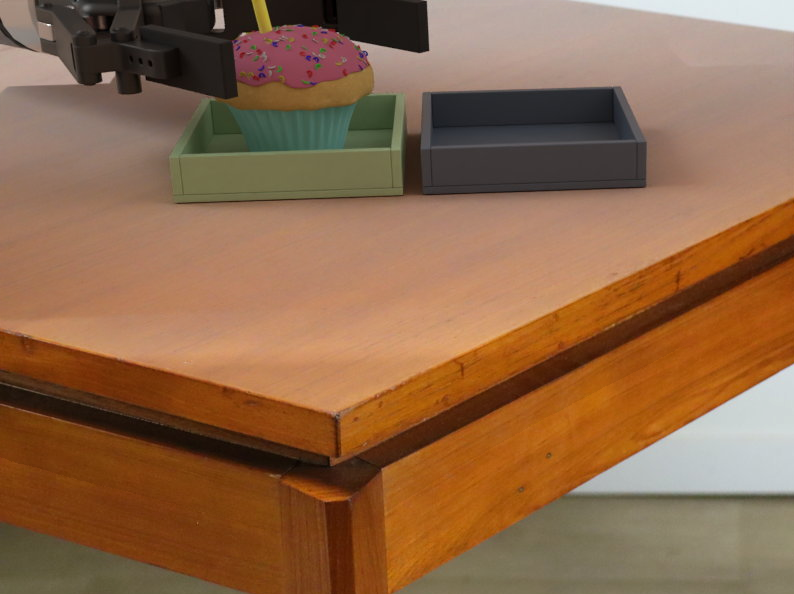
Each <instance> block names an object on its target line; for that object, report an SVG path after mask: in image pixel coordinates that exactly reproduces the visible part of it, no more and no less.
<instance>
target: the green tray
mask: <svg viewBox="0 0 794 594" xmlns="http://www.w3.org/2000/svg"><path fill="white" fill-rule="evenodd" d="M406 102H407V101H406V93H405V92H381V93H380V92H377V93H373V92H372V93H371V94H369V95H367V96H364V97H362V98H361V99H359V100H358V102H357V104H356V106H355V108H354V110H353V113H352V116H351V120H350V123H349V127H348V131H347V135H346V139H345V144H344V149H330V150H299V151H268V152H250V151H249V148H248V146H247V143H246V141H245V138H244V136H243V134H242V131H241V129H240V127H239V125H238V123H237V121H236V119H235V118H234V116H233V114H232V112H231V111H230V109H229V108H228V106H227V105H226V103H220V102H218V101H217V100H216V99H215V97H212V98H210V97H209V98H207V97H206V98H202V99H201V101H200V102H199V104H198V106H197V108H196V109H195V111H194V113H193V115H192V117H190V118H191V119H190V120H189V122H188V123H187V124H186V127H185V129H184V130H183V132H182V134H181V136H180V137H179V139H178V141H177V143H176V144H175V146H174V147H173V149H172V151H171V153H170V155H169V156H168V162H169V171H170V178H171V185H172V195H173V202H174V203H175V204H184V203H185V204H187V203H213V202H214V203H215V202H216V203H217V202H242V201H245V202H247V201H270V200H271V201H272V200H302V199H303V200H304V199H329V198H330V199H333V198H356V197H359V198H361V197H385V196H389V197H390V196H391V197H392V196H403V195H404V189H405V187H404V186H405V172H406V158H407V144H408V143H407V142H408V122H407V121H408V120H407V119H408V118H407V103H406Z"/></svg>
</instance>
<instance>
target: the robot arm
mask: <svg viewBox="0 0 794 594" xmlns="http://www.w3.org/2000/svg"><path fill="white" fill-rule="evenodd" d="M265 3H266V7H267V11H268V15H269V19H270V23H271V27H272V28H273V27H277V26H279V27H282V26H284V25H286V26H288V25H292V26H293V25H298V24H301V25H303V26H306V27H312V26H314V25H317V26H319V27H322V28H324V29H334V30H335V32H336V33H338V34H344V36H347V37H349V38H350V41H351V42H358V43H363V44H369V45H374V46H379V47H383V48H389V49H393V50H394V49H395V50H400V51H404V52H409V53H416V54H423V53H427V52H430V34H429V32H430V31H429V14H428V13H429V12H428V1H427V0H265ZM221 9H222V13H223V22H224V24H223V25H224V28H215V26H216V23H217V17H216V10H221ZM315 27H316V26H315ZM316 28H317V27H316ZM253 30H254V31H255V32H256V31H259V27H258V23H257V19H256V15H255V11H254V7H253V3H252V0H0V45H3V46H8V47H13V48H18V49H22V50H27V51H32V52H34V53H38V54H39V53H40V54H44V55H49V56H53V57H57V58H59V60H60V62H62V64H63V65H64V66H65V68H66V69H67V70H68V72H69V73H70V75H71V76H72V77H73V79H74V80H75V81H76V82H77V84H78V85H83V86H87V87H92V86H96V85H98V84H100V83H103V82H104V81H103V75H102V74H105V73H113V72H114V74H115V79H116V80H115V81H116V89H117V93H118V94H119V95H123V96H131V95H137V94H141V93H142V92H143V87H142V86H143V84H142V77H143V76H144V78H145V81H147V82H151V83H155V84H160V85H163V86H168V87H171V88H177V89H181V90H185V91H189V92H193V93H197V94H201V95H204V96H209V97H212V98H215V97H217V98H221V99H225V100H226V99H231V98H235V97H238V89H237V79H236V69H235V60H234V50H233V41H232V40H235V39H236V38H238V37H239V36H243V34H246V33H247V32H252V31H253Z"/></svg>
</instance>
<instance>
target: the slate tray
mask: <svg viewBox="0 0 794 594" xmlns="http://www.w3.org/2000/svg"><path fill="white" fill-rule="evenodd" d="M421 97H422V98H421V120H420V121H421V124H420V127H421V128H420V165H421V166H420V168H421V185H422V195H444V194H448V195H449V194H474V193H503V192H505V193H507V192H533V191H534V192H535V191H561V190H562V191H563V190H591V189H617V188H618V189H621V188H622V189H623V188H645V187H647V164H648V163H647V158H648V157H647V154H648V152H647V149H648V148H647V147H648V146H647V145H648V143H647V140H646V138H645V136H644V133H643V132H642V129H641V127H640V125H639V123H638V121H637V118H636V116H635V114H634V111H633V110H632V107H631V105H630V103H629V101H628V99H627V97H626V95H625V93H624V91H623V88H622V86H621V85H615V86H583V87H582V86H581V87H580V86H579V87H550V88H549V87H545V88H542V87H541V88H516V89H515V88H512V89H511V88H509V89H481V90H479V89H478V90H477V89H476V90H447V91H442V90H441V91H422V96H421Z"/></svg>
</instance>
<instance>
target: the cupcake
mask: <svg viewBox="0 0 794 594" xmlns="http://www.w3.org/2000/svg"><path fill="white" fill-rule="evenodd" d="M252 3H253V7H254V11H255V15H256V19H257V23H258V27H259V31H256V32H255V31H254V30H253V31H252V32H247V33H245V35H241V36H239V37H238V38H236V39H235V40H232V41H233V50H234V60H235V69H236V79H237V89H238V97H235V98H231V99H226V100H225V99H221V98H217V97H214V98H215V99H216V100H217V101H218V102H220V103H226V105H227V106H228V108H229V109H230V111H231V112H232V114H233V116H234V118H235V119H236V121H237V123H238V125H239V127H240V129H241V131H242V134H243V136H244V138H245V141H246V143H247V146H248V148H249V151H250V152H268V151H299V150H330V149H344V144H345V139H346V135H347V131H348V127H349V123H350V120H351V116H352V113H353V110H354V108H355V106H356V104H357V102H358V100H359V99H361V98H362V97H364V96H367V95H369V94H372V93H373V90H374V88H375V87H374V86H375V74H374V70H373V67H372V65H371V62H370V61H369V60H368V56H369V53H368V51H367V50H362V48H361V45H360V44H357V45H356V44H355V42H354V41H352V40H350V38H349V37H347V36H344V34H339V33H336V32H335V30H334V29H324V28H322V27H319V26H317V25H314V26H312V27H306V26H303V25H301V24H298V25H293V26H292V25H288V26H286V25H284V26H282V27H279V26H277V27H273V28H272V27H271V23H270V19H269V15H268V11H267V7H266V3H265V0H252ZM315 26H316V27H317V28H316V27H315Z"/></svg>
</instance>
